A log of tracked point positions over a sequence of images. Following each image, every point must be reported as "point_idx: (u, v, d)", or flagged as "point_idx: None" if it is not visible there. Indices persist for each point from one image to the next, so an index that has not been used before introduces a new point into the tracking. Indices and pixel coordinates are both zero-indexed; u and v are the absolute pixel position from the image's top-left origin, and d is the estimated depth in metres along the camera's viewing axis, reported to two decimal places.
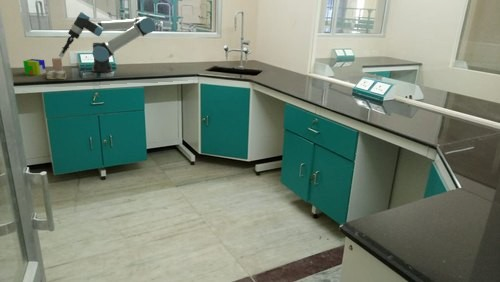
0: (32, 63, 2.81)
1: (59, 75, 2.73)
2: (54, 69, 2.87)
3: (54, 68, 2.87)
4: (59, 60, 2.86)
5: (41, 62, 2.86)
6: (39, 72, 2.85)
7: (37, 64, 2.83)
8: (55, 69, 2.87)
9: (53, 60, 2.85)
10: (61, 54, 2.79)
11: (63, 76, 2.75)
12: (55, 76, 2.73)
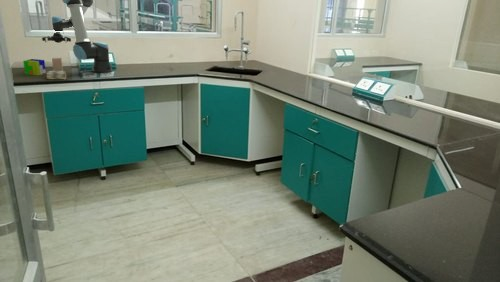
0: (32, 63, 2.81)
1: (59, 75, 2.73)
2: (54, 69, 2.87)
3: (54, 68, 2.87)
4: (59, 60, 2.86)
5: (41, 62, 2.86)
6: (39, 72, 2.85)
7: (37, 64, 2.83)
8: (55, 69, 2.87)
9: (53, 60, 2.85)
10: (45, 40, 2.91)
11: (63, 76, 2.75)
12: (55, 76, 2.73)
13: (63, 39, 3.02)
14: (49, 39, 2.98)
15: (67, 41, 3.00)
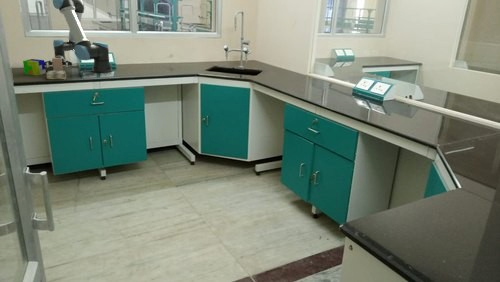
0: (32, 63, 2.80)
1: (59, 75, 2.73)
2: (54, 69, 2.87)
3: (54, 68, 2.87)
4: (59, 60, 2.86)
5: (41, 62, 2.86)
6: (39, 72, 2.85)
7: (37, 64, 2.82)
8: (55, 69, 2.87)
9: (53, 60, 2.85)
10: None
11: (63, 76, 2.75)
12: (55, 76, 2.73)
13: (64, 63, 2.99)
14: (50, 63, 2.95)
15: (68, 65, 2.98)
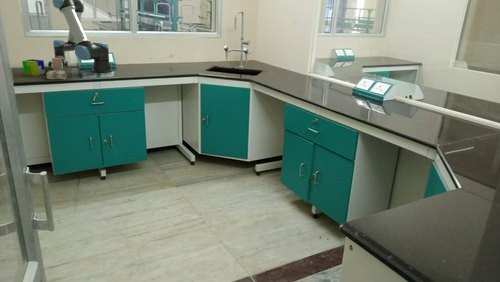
0: (30, 63, 2.79)
1: (59, 75, 2.73)
2: (54, 69, 2.87)
3: (54, 68, 2.87)
4: (59, 60, 2.86)
5: (40, 62, 2.85)
6: (37, 72, 2.83)
7: (36, 64, 2.81)
8: (55, 69, 2.87)
9: (53, 60, 2.85)
10: (51, 66, 2.85)
11: (63, 76, 2.75)
12: (55, 76, 2.73)
13: None
14: None
15: None
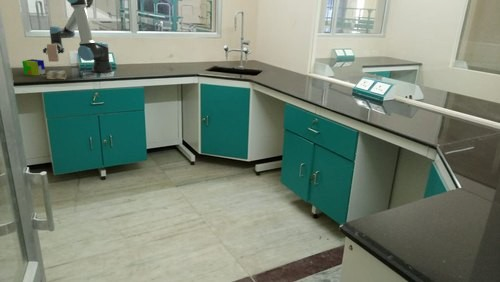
0: (30, 63, 2.79)
1: (59, 75, 2.73)
2: (48, 55, 2.76)
3: (49, 54, 2.76)
4: (54, 46, 2.75)
5: (40, 62, 2.85)
6: (37, 72, 2.83)
7: (36, 64, 2.81)
8: (50, 55, 2.76)
9: (48, 46, 2.74)
10: None
11: (63, 76, 2.75)
12: (55, 76, 2.73)
13: (57, 50, 2.84)
14: None
15: None
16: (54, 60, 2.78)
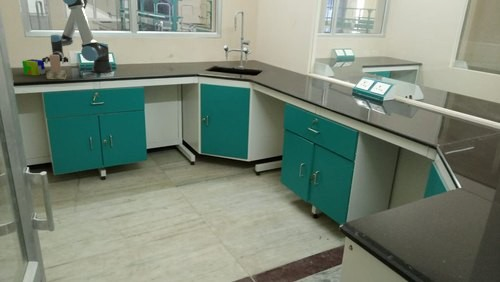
0: (30, 63, 2.79)
1: (59, 75, 2.73)
2: (51, 66, 2.72)
3: (51, 65, 2.72)
4: (57, 57, 2.71)
5: (40, 62, 2.85)
6: (37, 72, 2.83)
7: (36, 64, 2.81)
8: (52, 66, 2.73)
9: (50, 57, 2.70)
10: (46, 61, 2.70)
11: (63, 76, 2.75)
12: (55, 76, 2.73)
13: (61, 59, 2.81)
14: (49, 60, 2.78)
15: None
16: (57, 71, 2.75)
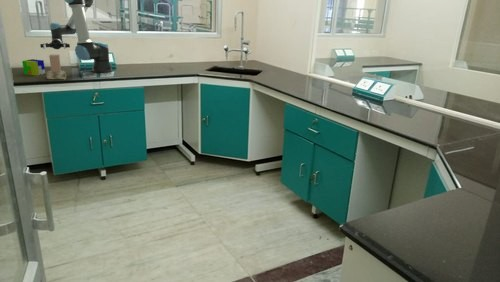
0: (30, 63, 2.79)
1: (59, 75, 2.73)
2: (51, 66, 2.72)
3: (51, 65, 2.72)
4: (57, 57, 2.71)
5: (40, 62, 2.85)
6: (37, 72, 2.83)
7: (36, 64, 2.81)
8: (52, 66, 2.73)
9: (50, 57, 2.70)
10: (43, 47, 2.81)
11: (63, 76, 2.75)
12: (55, 76, 2.73)
13: (62, 45, 2.92)
14: (47, 46, 2.88)
15: (66, 47, 2.91)
16: (57, 71, 2.75)
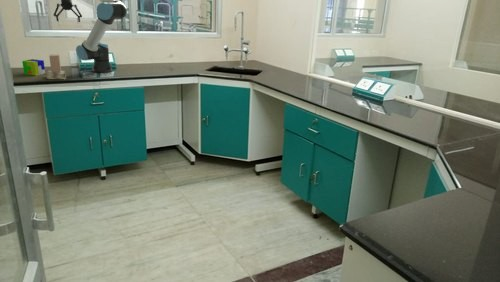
0: (30, 63, 2.79)
1: (59, 75, 2.73)
2: (51, 66, 2.72)
3: (51, 65, 2.72)
4: (57, 57, 2.71)
5: (40, 62, 2.85)
6: (37, 72, 2.83)
7: (36, 64, 2.81)
8: (52, 66, 2.73)
9: (50, 57, 2.70)
10: None
11: (63, 76, 2.75)
12: (55, 76, 2.73)
13: (74, 13, 2.95)
14: None
15: None
16: (57, 71, 2.75)
